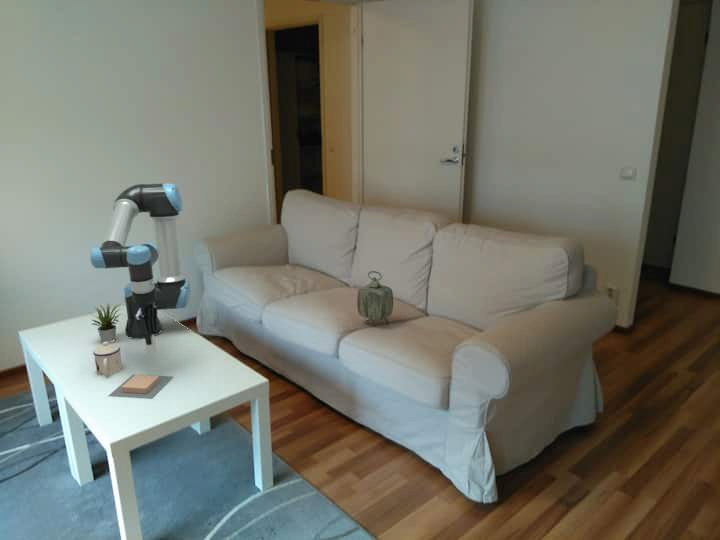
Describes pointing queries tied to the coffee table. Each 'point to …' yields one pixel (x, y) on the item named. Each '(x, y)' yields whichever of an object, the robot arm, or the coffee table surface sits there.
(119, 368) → the teacup with lid
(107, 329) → the house plant
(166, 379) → the mat
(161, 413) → the coffee table surface
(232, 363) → the coffee table surface
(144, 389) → the tile
